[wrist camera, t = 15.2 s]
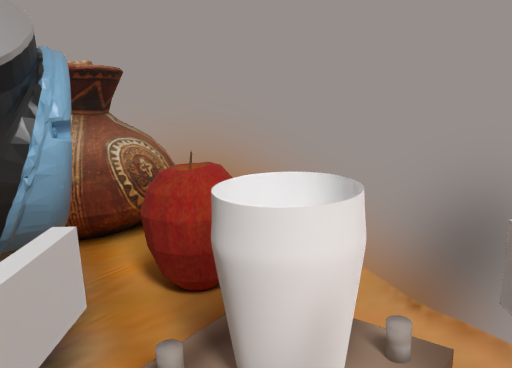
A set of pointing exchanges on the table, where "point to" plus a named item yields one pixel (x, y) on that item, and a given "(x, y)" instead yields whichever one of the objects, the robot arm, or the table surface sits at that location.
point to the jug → (106, 156)
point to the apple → (183, 223)
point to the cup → (289, 265)
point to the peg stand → (357, 359)
